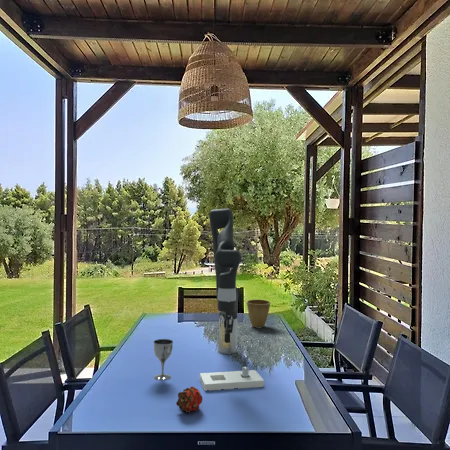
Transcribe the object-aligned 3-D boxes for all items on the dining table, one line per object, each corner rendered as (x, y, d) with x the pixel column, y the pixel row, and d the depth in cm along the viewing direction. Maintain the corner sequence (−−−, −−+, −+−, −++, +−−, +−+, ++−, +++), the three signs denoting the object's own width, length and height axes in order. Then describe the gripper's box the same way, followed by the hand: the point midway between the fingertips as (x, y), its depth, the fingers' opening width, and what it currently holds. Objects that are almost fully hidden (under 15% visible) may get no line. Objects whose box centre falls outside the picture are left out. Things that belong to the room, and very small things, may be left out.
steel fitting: (241, 381, 170) (241, 366, 170) (247, 380, 171) (247, 366, 171) (243, 383, 168) (243, 368, 168) (249, 383, 168) (249, 368, 168)
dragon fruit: (182, 423, 136) (190, 412, 148) (203, 409, 136) (210, 399, 148) (169, 400, 138) (178, 391, 150) (189, 386, 138) (197, 378, 149)
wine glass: (153, 381, 168) (154, 344, 168) (152, 374, 175) (152, 339, 175) (173, 379, 170) (174, 343, 170) (170, 373, 177) (171, 338, 178)
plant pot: (242, 325, 266) (242, 300, 266) (262, 323, 272) (262, 299, 272) (253, 330, 252) (254, 304, 252) (274, 328, 259) (274, 303, 259)
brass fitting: (219, 345, 169) (220, 323, 169) (229, 344, 170) (230, 322, 170) (222, 348, 165) (222, 325, 165) (232, 347, 166) (232, 325, 166)
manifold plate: (199, 379, 171) (199, 373, 171) (255, 375, 176) (255, 370, 176) (204, 390, 159) (204, 384, 159) (263, 386, 165) (263, 380, 165)
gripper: (214, 296, 173) (213, 336, 173) (221, 302, 159) (220, 346, 159) (231, 295, 175) (230, 335, 175) (240, 301, 161) (239, 345, 161)
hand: (225, 340), depth 167 cm, fingers closed on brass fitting, 4 cm apart
